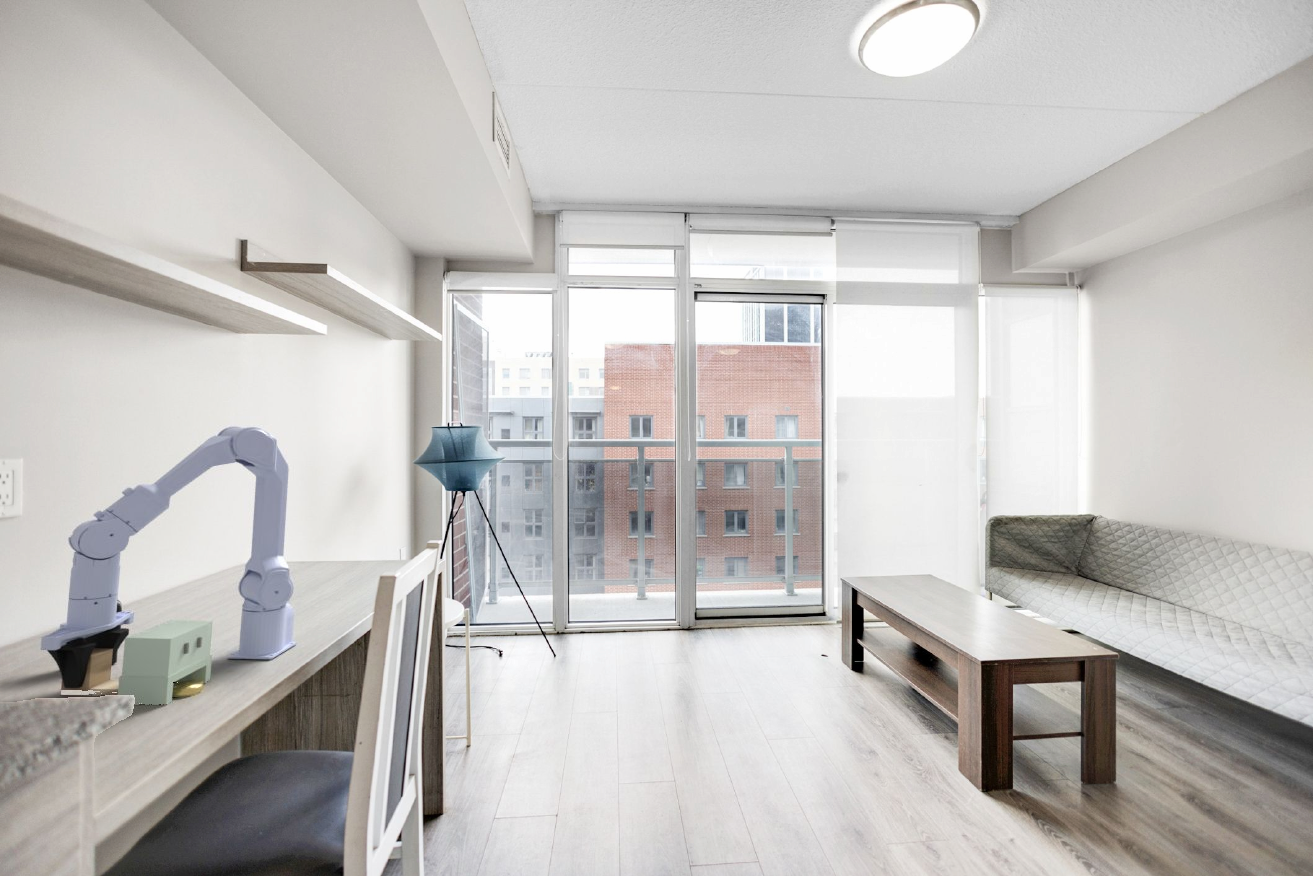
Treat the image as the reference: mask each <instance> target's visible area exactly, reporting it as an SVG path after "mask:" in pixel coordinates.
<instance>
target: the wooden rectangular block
mask: <svg viewBox="0 0 1313 876" xmlns="http://www.w3.org/2000/svg"><path fill="white" fill-rule="evenodd" d="M112 654H113V649H104V648H94V650H93V652H92V654H91V656H90V658H89V661H88V665H87V670H86V676H85V680H84V683H83V685H82V687H80V688H65V686H64V683H63V679H62V678H61V685H60V691H61V690H82V691H88V690H93V691H100V692H95V693H96V694H95V693H94V695H93V696H101V695H118V686H119V679H117V680H115V679H114V680H113V679H111V678H112V677H111V675H112V674H111V673H112V666H113V664H112ZM112 692H117V693H112ZM101 693H102V694H101ZM68 696H69V697H70V696H71V697H72V696H74V697H75V696H76V697H78V696H79V697H88V696H90V695H68Z"/></svg>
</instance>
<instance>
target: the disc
mask: <svg viewBox="0 0 1313 876" xmlns="http://www.w3.org/2000/svg"><path fill="white" fill-rule="evenodd" d="M204 684H205V683H204V682H203V681H200V680H188V681H182V682H178V683H173V694H172V697H184V698H189V697H192V696H191V695H193V696H196V695H199V694H201V693H202V692H203V691H202V690H204ZM201 691H202V692H201ZM200 692H201V693H200ZM198 693H199V694H198ZM195 694H196V695H195ZM188 696H189V697H188Z"/></svg>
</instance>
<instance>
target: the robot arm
mask: <svg viewBox="0 0 1313 876" xmlns="http://www.w3.org/2000/svg"><path fill="white" fill-rule="evenodd" d="M234 463H236V464H237V463H238V464H240V465H242V466H243V467H244V468H246V469H247V470H248V471H249V472H251V473H252V474H253V475H254V476H255V486H254V487H255V491H254V506H253V508H254V509H253V520H252V521H253V522H252V523H253V524H252V535H251V552H250V558H249V559H248V560H247V562H246V564H244V565H245V566H244V573H243V575H242V577H241V579H240V580H239V582H238V588H237V590H238V593H239V595H240V596H241V597H242V598H243V599H244V601H243V604H242V606H241V619H240V629H239V630H240V631H239V642H238V643H239V645H238V650H236V651H234V652H232V653H230V654H229V655H227V659H232V660H233V659H238V660H243V659H244V660H272V659H274V658H276V657H278V656H279V655H281V654H282V653H284V652H285V651H287V650H289V649H291V648H293V647H294V646H295V645H297V644H298V643H297V641H293V634H294V632H293V631H294V619H295V611H294V608H293V607H292V605H291V604H290V603H288V602H289V601H290V599H291V598H292V597H293V594H294V584H293V583H294V582H293V581H292V579H291V577H290V567H289V565H288V563H287V561H286V559H285V557H284V552H285V535H286V519H287V518H286V517H287V505H288V503H287V502H288V487H289V486H288V484H289V471H290V469H289V465H288V464H289V463H287V461H286V459H285V457H284V455H283V454H282V452H281V450H280V449H279V446H278V443H277V438H276V437H274V436H273V435H271V434H270V433H269V432H267V431H266V430H264V429H262V428H260V427H256V426H250V427H249V426H248V427H241V426H229V427H225V428H224V429H222V430H220V432H219V433H218V434H217V435H213V436H211V437H209V438H208V439H206V440H205V441H204V442H203V443H202V444H200V445H199V446H198V447H197V448H196V449H194V450H193V451H192V452H190V453H189V454H188V455H187V456H185V457H184V458H183V459H182V460H181V461H179V462H178V463H177V464H176V465H175V466H173V467H172V468H171V469H170V470H169V471H167V472H166V473H165V474H163V476H161V477H160V478H159V479H157V480H156V481H155V482H154V483H152V484H138V485H136V486H135V487H134V488H132V487H127V488H125V489H124V490H123V491H121V494H122V495H123V496H122V497H120V498H118V499H117V500H116V501H114V502H113V503H112V504H111V505H110V506H108V507H107V508H105V509H104V510H103V511H101V510H97V511H96V512H95V513H93V517H95V519H91V520H87V521H84V522H82V523H80V524H79V525H77V526H76V527H75V529H74V530H73V531H72V534H71V535H70V536H69V537H68V539H67V540H68V544H69V546H70V547H71V549H72V550H73V551H74V552H73V558H72V567H71V570H70V580H69V589H68V590H69V591H68V604H67V615H66V622H62V623H60V624H59V625H60V626H59V628H58V629H56V630H55V631H53V632H52V633H49V634H47V635H46V634H45V635H44V636H41V641H40V651H47V652H48V654H49V655H50V656H51V657H52V658H53V660H54V661H55V663H56V665H57V667H58V669H59V671H60V674H61V680H62V679H63V683H64V686H65V688H80V687H82V685H83V683H84V680H85V676H86V670H87V665H88V661H89V658H90V656H91V654H92V652H93V650H94V648H104V649H113V654H112V662H113V659H114V657H115V655H116V653H117V651H118V652H119V648H120V647H121V645H122V644H123V642H125V638H126V637H128V636H130V628H126V627H125V628H123V627H122V626H123V625H130V624H133V623H134V618H135V611H127V610H126V611H123V610H122V612H118V613H116V611H117V600H119V599H118V598H119V586H120V585H119V583H120V574H121V565H120V563H121V552H123V551H124V550H126V548H127V547H128V544H129V542H130V541H129V540H130V537H133V536H135V535H137V533H139V532H140V531H142V530H143V529H145V527H146V526H147V525H149V524H150V523H152V522H153V521H154V520H155V519H157V518H158V517H159V516H160V515H162V514H163V513H165V511H167V510H168V509H169V508H170V501H171V497H172V496H173V495H175V494H176V493H177V492H179V491H181V490H182V489H183V488H185V487H187V486H188V485H189V484H190V483H193V481H195V480H196V479H198V478H199V477H201V475H203V474H204V473H206V472H207V471H208V470H210V469H211V468H213V467H215V466H216V467H218V466H222V465H223V466H224V465H228V464H234ZM120 626H121V628H120ZM83 638H85V639H86V642H87V643H85V641H83Z"/></svg>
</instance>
